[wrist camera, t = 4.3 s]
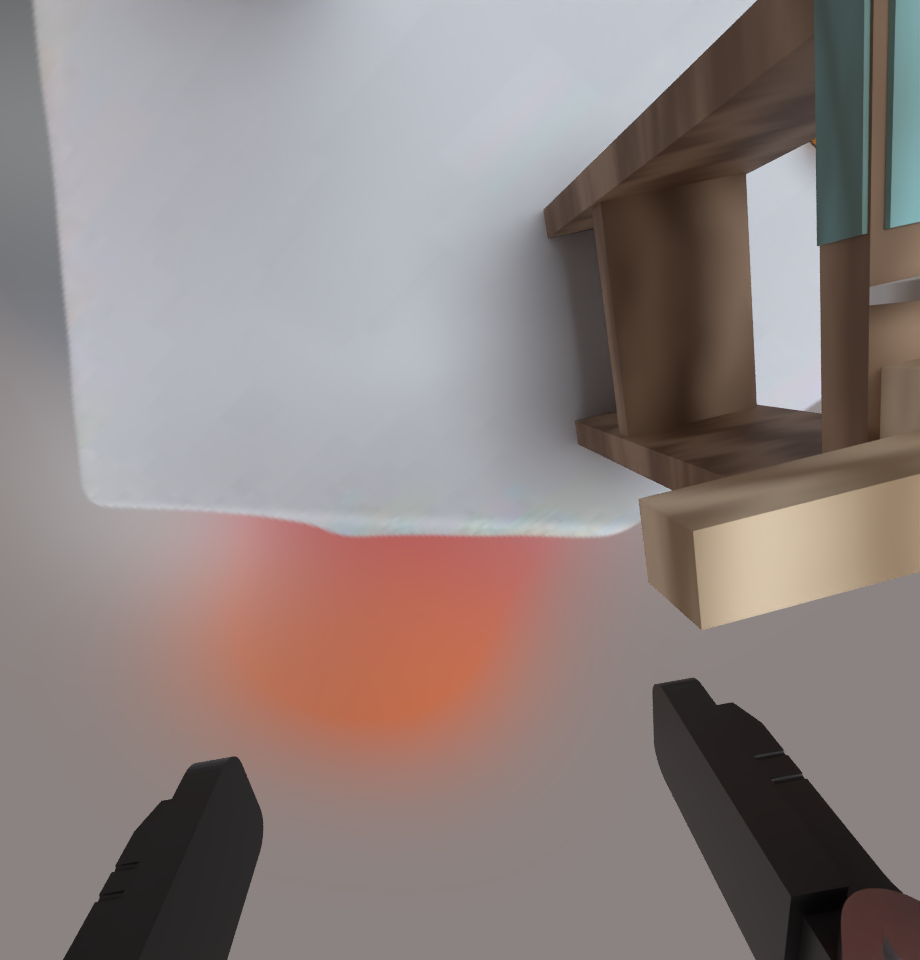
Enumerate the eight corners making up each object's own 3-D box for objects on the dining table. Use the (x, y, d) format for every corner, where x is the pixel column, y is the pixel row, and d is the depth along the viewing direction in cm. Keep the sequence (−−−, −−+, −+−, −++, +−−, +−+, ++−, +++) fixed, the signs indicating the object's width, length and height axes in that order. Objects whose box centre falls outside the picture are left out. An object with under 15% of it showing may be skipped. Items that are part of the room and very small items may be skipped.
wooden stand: (576, 444, 50) (926, 618, 17) (541, 209, 44) (969, -214, 11) (689, 417, 51) (1229, 534, 18) (669, 184, 45) (1416, -282, 12)
